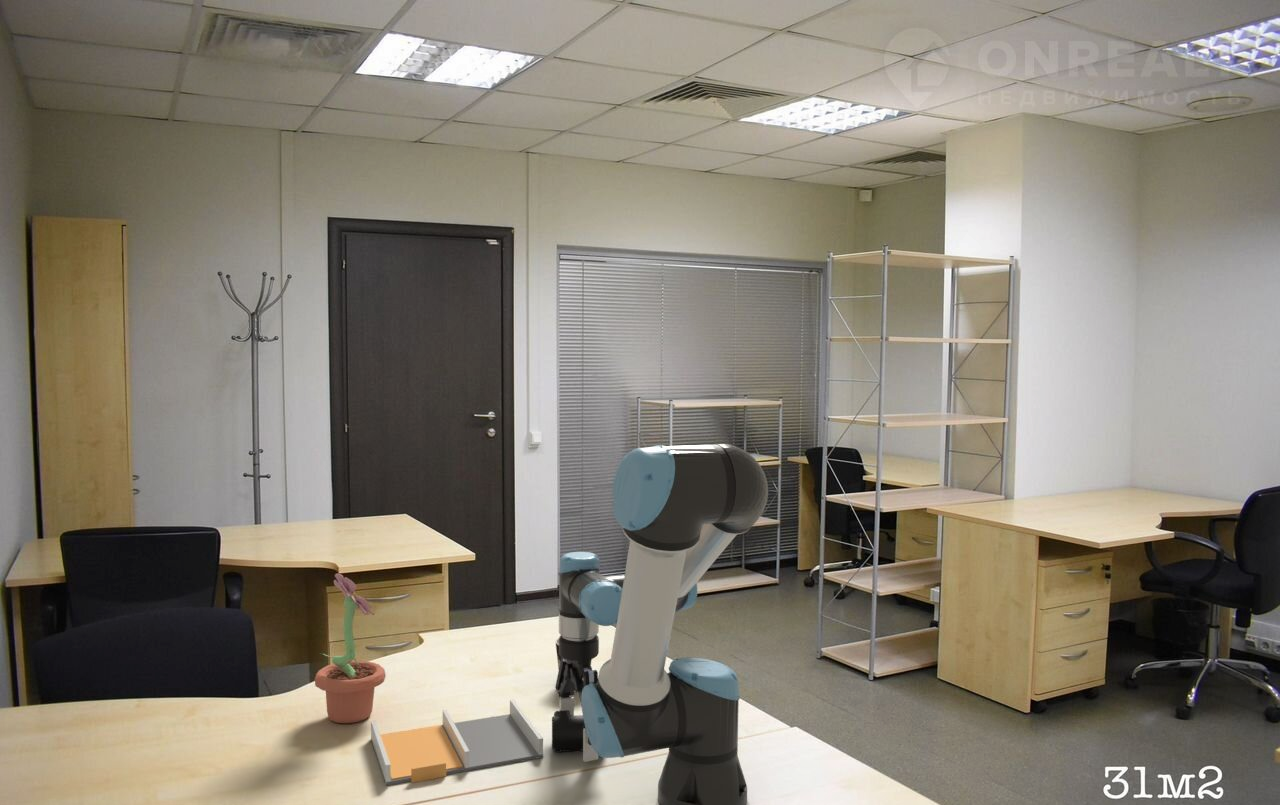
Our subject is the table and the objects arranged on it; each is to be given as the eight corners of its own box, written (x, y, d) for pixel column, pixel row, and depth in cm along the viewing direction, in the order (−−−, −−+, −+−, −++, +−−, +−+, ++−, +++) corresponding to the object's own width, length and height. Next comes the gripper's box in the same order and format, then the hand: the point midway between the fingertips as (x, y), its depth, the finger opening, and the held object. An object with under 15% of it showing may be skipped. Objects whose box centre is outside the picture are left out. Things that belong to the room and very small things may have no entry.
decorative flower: (399, 720, 183) (398, 575, 181) (332, 739, 174) (330, 586, 173) (369, 698, 195) (368, 561, 193) (305, 714, 186) (303, 570, 184)
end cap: (552, 758, 167) (552, 723, 167) (551, 742, 174) (551, 707, 174) (605, 756, 169) (606, 721, 168) (602, 739, 176) (603, 705, 175)
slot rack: (543, 758, 167) (544, 739, 167) (386, 787, 156) (386, 766, 155) (513, 716, 186) (513, 699, 186) (371, 739, 175) (370, 721, 174)
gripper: (622, 653, 160) (621, 769, 162) (575, 614, 183) (574, 716, 184) (582, 658, 157) (582, 777, 159) (540, 618, 180) (539, 722, 181)
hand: (578, 744), depth 171 cm, fingers open, 13 cm apart
